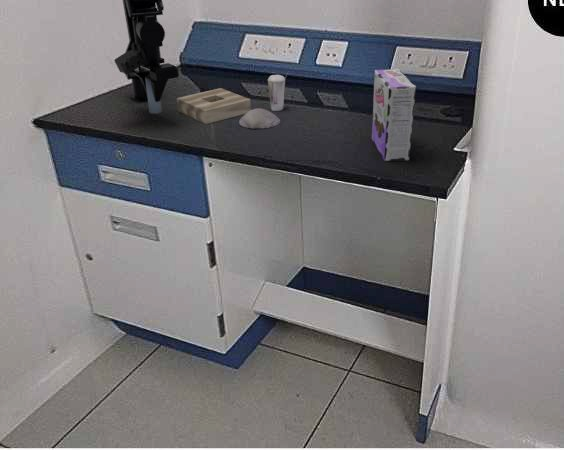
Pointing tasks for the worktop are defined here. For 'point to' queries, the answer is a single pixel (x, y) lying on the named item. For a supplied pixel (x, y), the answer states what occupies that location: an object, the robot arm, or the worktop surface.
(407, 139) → the candy box
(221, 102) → the socket block
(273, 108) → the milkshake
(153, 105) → the dowel
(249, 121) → the seashell
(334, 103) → the worktop surface
